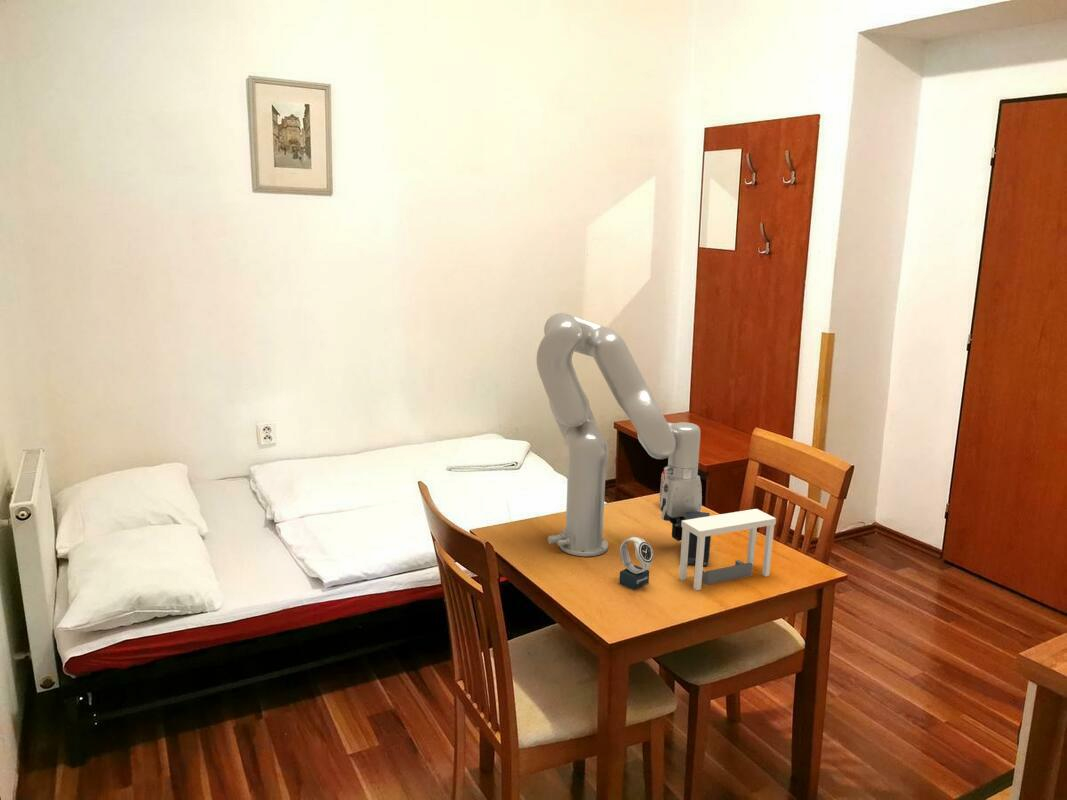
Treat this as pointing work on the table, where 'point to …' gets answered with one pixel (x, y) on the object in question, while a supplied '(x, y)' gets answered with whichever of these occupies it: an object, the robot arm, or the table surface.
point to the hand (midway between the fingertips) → (677, 538)
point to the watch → (635, 574)
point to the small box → (693, 540)
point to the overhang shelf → (720, 526)
